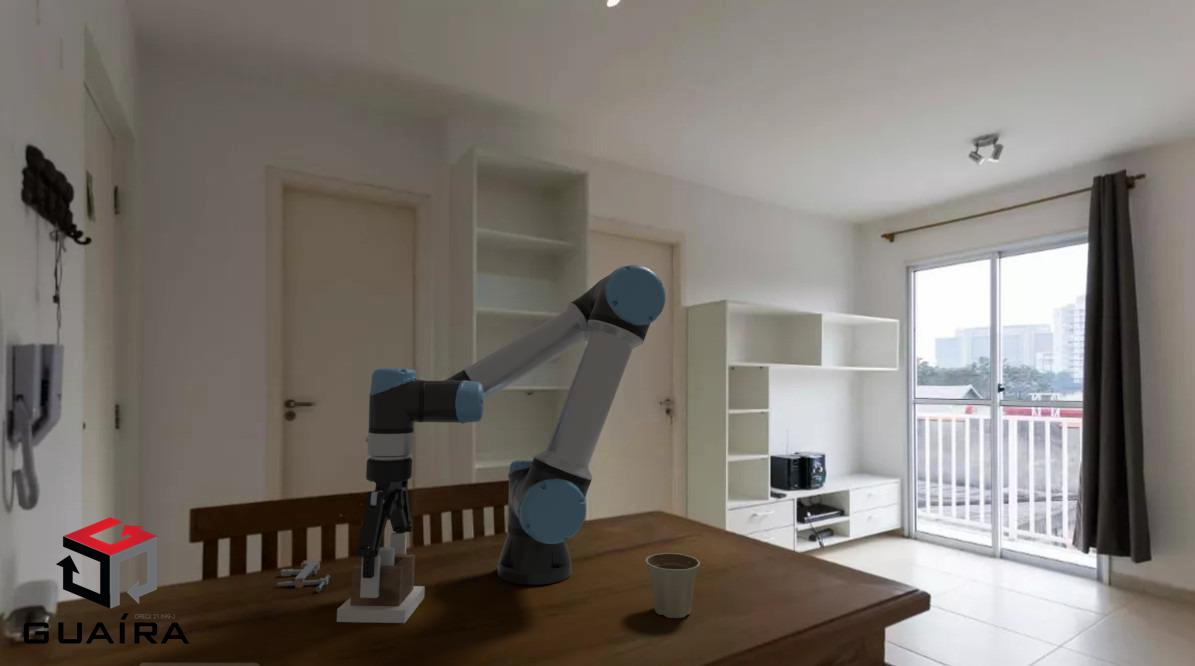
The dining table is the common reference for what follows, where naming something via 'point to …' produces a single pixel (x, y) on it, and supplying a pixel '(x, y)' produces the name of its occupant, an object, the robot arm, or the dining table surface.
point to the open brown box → (387, 583)
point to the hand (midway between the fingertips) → (384, 582)
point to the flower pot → (672, 583)
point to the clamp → (305, 575)
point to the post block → (382, 612)
